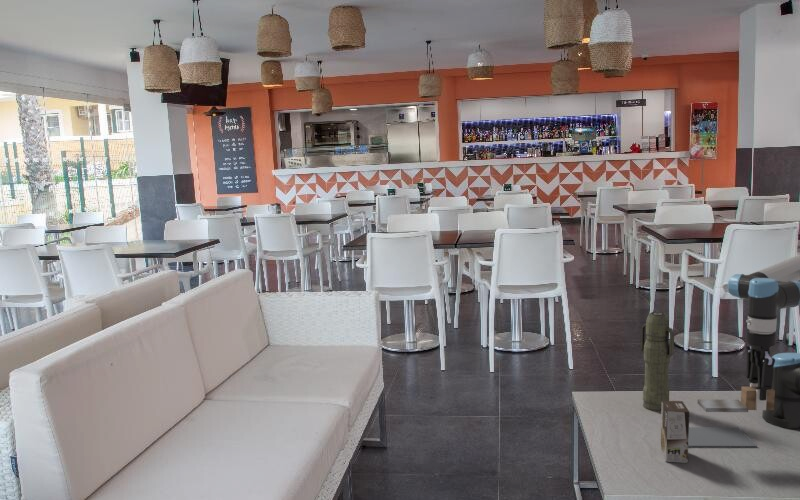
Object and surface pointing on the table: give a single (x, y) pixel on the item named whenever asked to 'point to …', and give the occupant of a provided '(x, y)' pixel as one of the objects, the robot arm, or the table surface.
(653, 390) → the thermos
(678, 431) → the coffee box
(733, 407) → the wood block metal plate
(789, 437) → the table surface
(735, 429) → the mat
